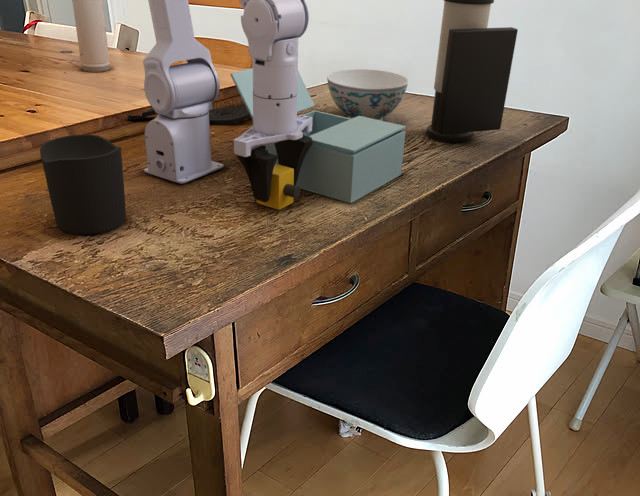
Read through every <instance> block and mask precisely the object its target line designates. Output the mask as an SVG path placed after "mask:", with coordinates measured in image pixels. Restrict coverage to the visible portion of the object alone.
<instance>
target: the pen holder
mask: <svg viewBox="0 0 640 496" xmlns="http://www.w3.org/2000/svg"><path fill="white" fill-rule="evenodd" d="M39 155H40V160H41V164H42V168H43V172H44V176H45V177H44V178H45V182H46V186H47V190H48V195H49V199H50V203H51V204H50V205H51V209H52V212H53V216H54V220H55V223H56V226H57V227H58V228H59V229H60V230H61V231H63V232H65V233H68V234H71V235H76V236H94V235H101V234H107V233H109V232H112V231H114V230H116V229H118V228H120V227H121V226H122V225H123V224H124V223H125V221H126V218H127V210H126V209H127V208H126V193H125V182H124V181H125V180H124V169H123V155H122V146H117V145H115V144H114V143H113V142H111V141H109V140H108V139H106V138H104V137H103V136H100V135H96V134H72V135H64V136H60V137H55V138H53V139H50V140H48V141H45V142H44V143H42V144H41V146H40V149H39Z"/></svg>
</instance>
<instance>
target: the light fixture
mask: <svg viewBox="0 0 640 496" xmlns="http://www.w3.org/2000/svg"><path fill="white" fill-rule="evenodd" d="M443 1H444V2H443V10H442V18H441V19H442V20H441V26H440V34H439V42H438V51H437V59H436V68H435V76H434V84H433V89H434V91H435V92H434V99H433V106H432V115H431V124H429V125H428V126H427V127H426V136H427V137H428V138H430V139H432V140H434V141H437V142H441V143H449V144H461V143H466V142H469V141H471V140H472V139H473V136H474V133H475V132H476V133H477V132H486V131H487V132H489V131H499V130H501V129H502V128H501V127H502V123H503V117H504V111H505V104H506V99H507V94H508V88H509V81H510V77H511V72H512V71H511V70H512V66H513V59H514V54H515V49H516V43H517V37H518V30H519V29H518V28H515V27H512V26H511V27H510V26H509V27H488V26H489V18H490V11H491V6H492V4H494V3H495V0H443Z"/></svg>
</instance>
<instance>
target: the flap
mask: <svg viewBox="0 0 640 496" xmlns="http://www.w3.org/2000/svg"><path fill="white" fill-rule="evenodd" d="M229 75H230V77H231V79H232V81H233V83H234V85H235V87H236V90H237V91H238V93H239V96H240V97H241V100H243V101H242V102H243V104H245V105H246V107H247V109H248V111H249V113H250V115H251V117H250V118H251V119H252V120H253V67H251V68H248V69H247V68H246V69H243V70H239V71H235V72H231V73H230V74H229ZM313 107H315V103H314V101H313V99H312V97H311V94H310V92H309V91H308V88H307V86H306V84H305V82H304V80H303V78H302V76H301V74H300V72H299V71H298V82H297V113H299V112H303V111H305V110H308V109H312V108H313Z"/></svg>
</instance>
